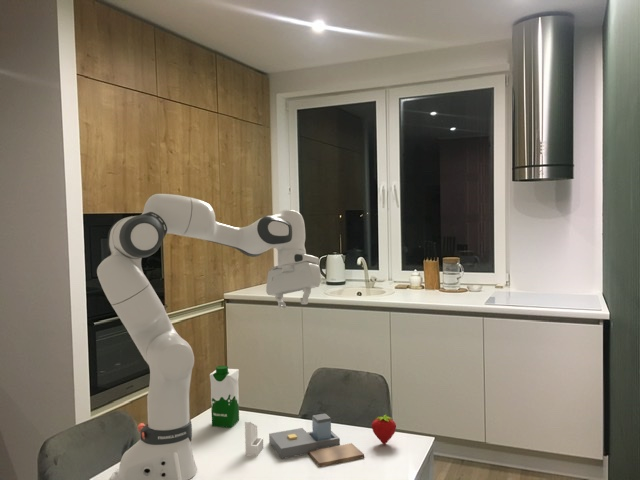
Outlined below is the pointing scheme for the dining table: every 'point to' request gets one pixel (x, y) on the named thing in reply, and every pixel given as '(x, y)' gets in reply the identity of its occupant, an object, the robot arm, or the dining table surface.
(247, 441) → the white slotted stand
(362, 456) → the walnut pad
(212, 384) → the milk carton
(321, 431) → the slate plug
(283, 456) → the grey socket base
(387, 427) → the strawberry
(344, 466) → the dining table surface
